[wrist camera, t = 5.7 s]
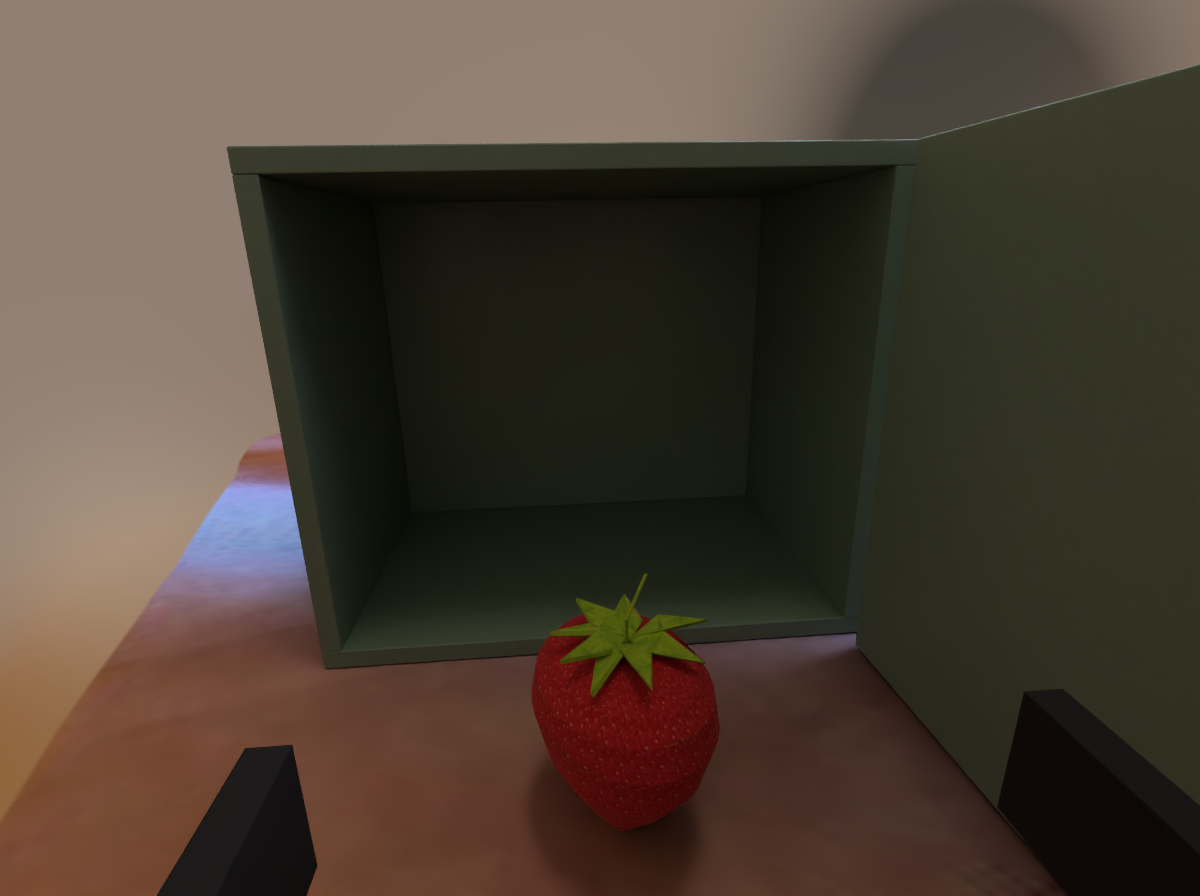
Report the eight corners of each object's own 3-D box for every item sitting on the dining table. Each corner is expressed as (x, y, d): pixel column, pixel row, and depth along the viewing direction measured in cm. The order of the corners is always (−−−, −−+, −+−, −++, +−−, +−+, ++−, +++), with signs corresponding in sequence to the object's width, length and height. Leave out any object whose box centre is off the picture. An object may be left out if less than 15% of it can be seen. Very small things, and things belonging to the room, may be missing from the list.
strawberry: (638, 723, 27) (638, 515, 24) (754, 865, 21) (774, 608, 18) (511, 776, 25) (493, 551, 22) (600, 956, 18) (592, 674, 15)
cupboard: (860, 632, 33) (922, 139, 26) (324, 669, 31) (225, 146, 24) (754, 501, 50) (773, 181, 43) (402, 520, 48) (358, 187, 41)
